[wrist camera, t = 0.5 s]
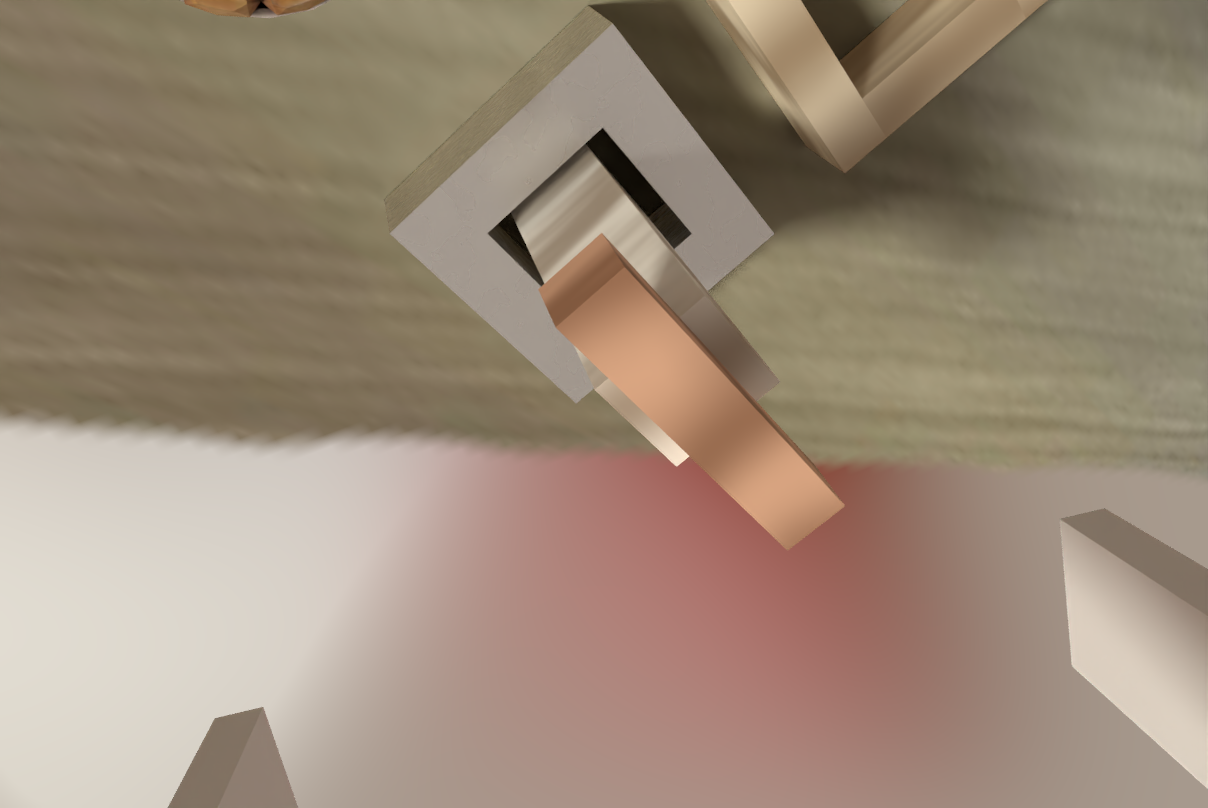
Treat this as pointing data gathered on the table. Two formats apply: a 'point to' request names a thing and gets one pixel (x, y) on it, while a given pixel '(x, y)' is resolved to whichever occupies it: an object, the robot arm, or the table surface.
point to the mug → (255, 7)
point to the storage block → (863, 64)
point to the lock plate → (534, 152)
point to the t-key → (665, 346)
